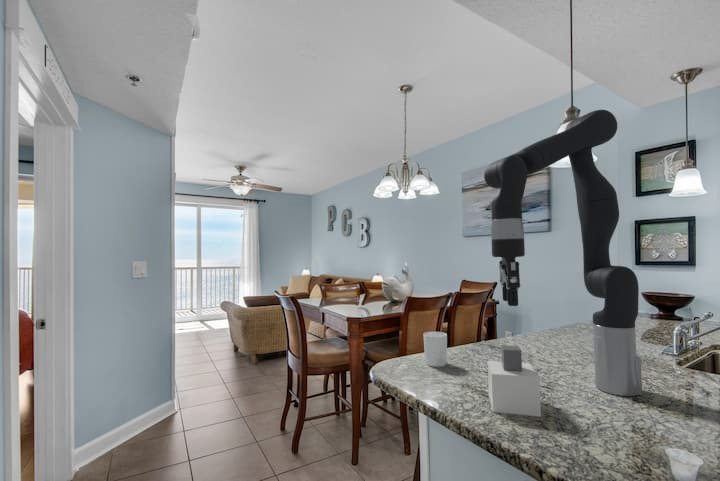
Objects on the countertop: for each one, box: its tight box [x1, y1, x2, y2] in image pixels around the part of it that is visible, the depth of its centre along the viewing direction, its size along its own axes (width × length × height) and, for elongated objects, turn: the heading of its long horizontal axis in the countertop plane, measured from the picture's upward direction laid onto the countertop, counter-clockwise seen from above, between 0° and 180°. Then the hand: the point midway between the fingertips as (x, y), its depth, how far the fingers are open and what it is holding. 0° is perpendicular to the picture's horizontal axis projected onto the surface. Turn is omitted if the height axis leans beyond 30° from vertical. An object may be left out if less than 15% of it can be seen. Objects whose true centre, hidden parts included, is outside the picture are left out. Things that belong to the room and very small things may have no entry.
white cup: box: [422, 331, 448, 368], centre depth 116 cm, size 8×8×10 cm
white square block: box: [487, 344, 542, 418], centre depth 84 cm, size 10×10×14 cm
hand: (510, 303), depth 85 cm, fingers open, 8 cm apart
